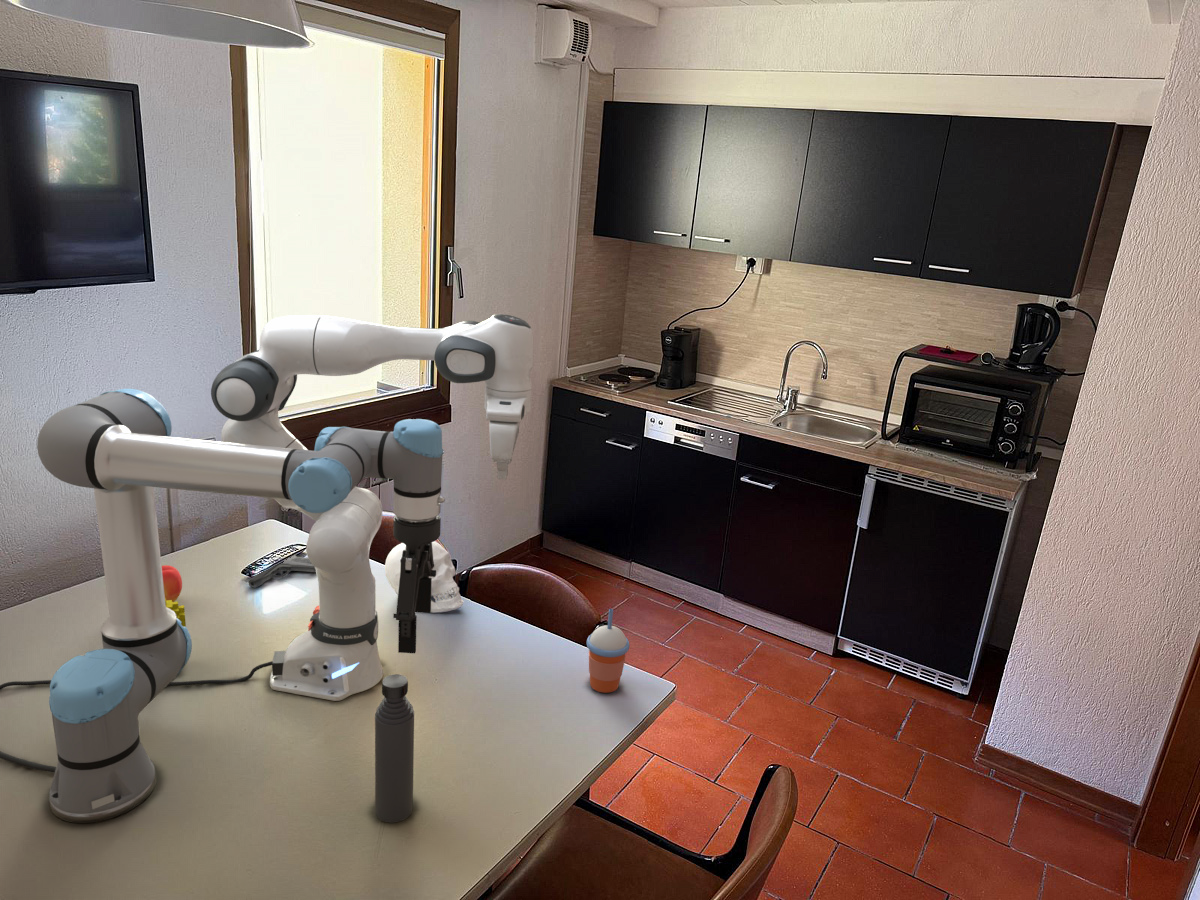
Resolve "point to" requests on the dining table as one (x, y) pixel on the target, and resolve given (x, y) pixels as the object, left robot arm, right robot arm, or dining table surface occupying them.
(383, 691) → the cap
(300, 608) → the dining table surface
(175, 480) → the left robot arm
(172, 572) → the apple
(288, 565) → the handgun
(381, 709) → the bottle
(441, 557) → the skull
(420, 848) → the dining table surface
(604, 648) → the cup with straw
